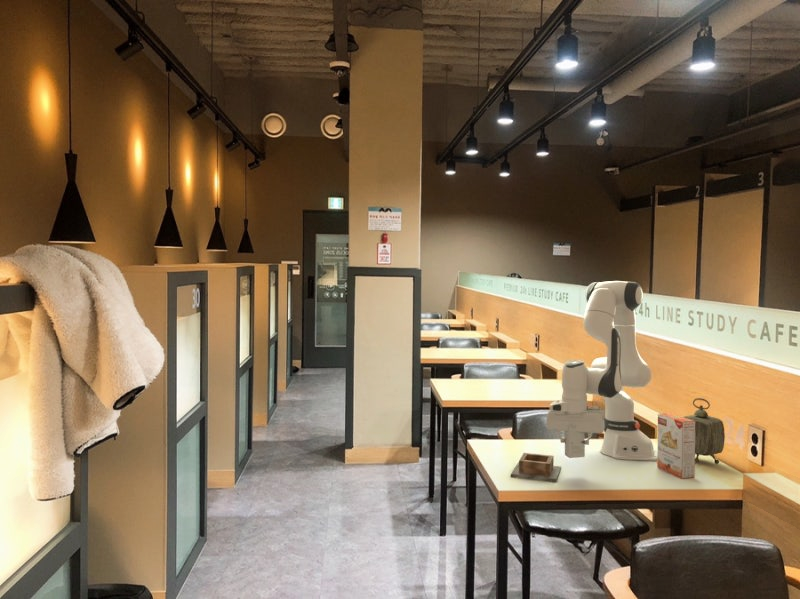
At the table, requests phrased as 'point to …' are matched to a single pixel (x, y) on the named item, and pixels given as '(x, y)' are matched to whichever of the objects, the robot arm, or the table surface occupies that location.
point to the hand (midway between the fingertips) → (574, 443)
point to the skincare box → (574, 442)
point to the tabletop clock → (707, 433)
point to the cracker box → (676, 445)
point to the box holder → (536, 467)
